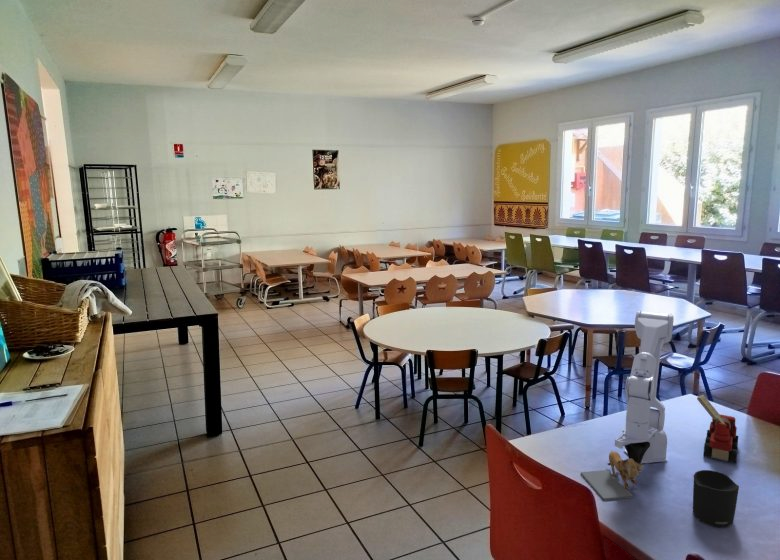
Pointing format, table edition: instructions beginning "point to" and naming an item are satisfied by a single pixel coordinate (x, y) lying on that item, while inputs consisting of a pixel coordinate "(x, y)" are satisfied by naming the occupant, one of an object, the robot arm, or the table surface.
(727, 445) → the toy fire truck
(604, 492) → the rubber mat
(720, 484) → the pen holder
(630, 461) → the lion figurine
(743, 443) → the table surface
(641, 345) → the robot arm
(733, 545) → the table surface
